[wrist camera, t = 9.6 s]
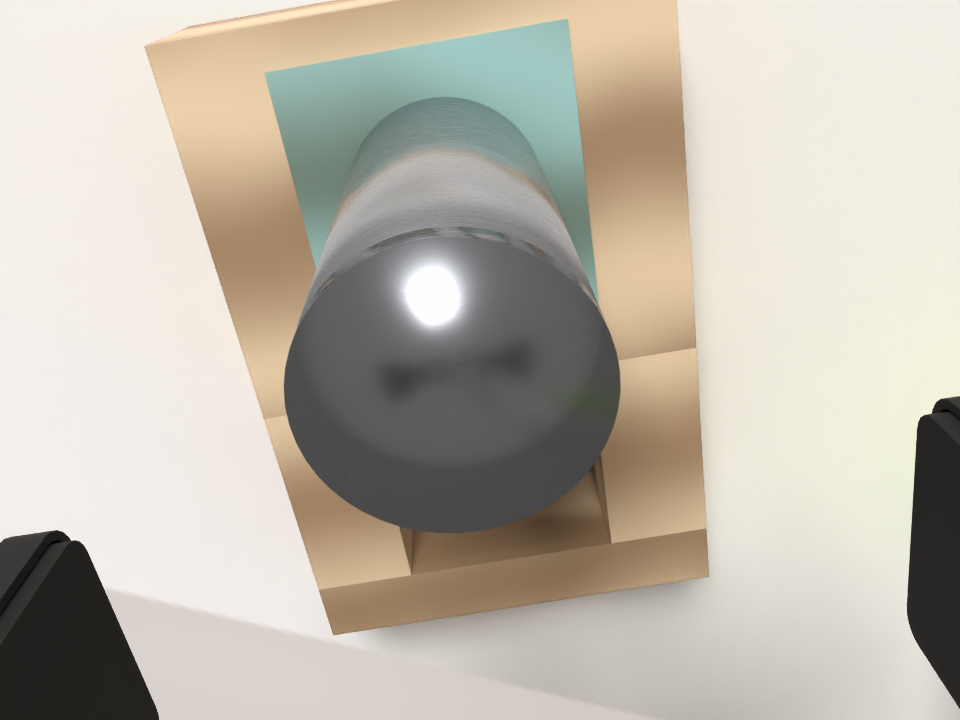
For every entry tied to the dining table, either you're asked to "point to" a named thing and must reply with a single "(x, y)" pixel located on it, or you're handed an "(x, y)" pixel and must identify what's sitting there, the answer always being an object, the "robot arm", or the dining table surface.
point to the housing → (586, 214)
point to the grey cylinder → (450, 331)
